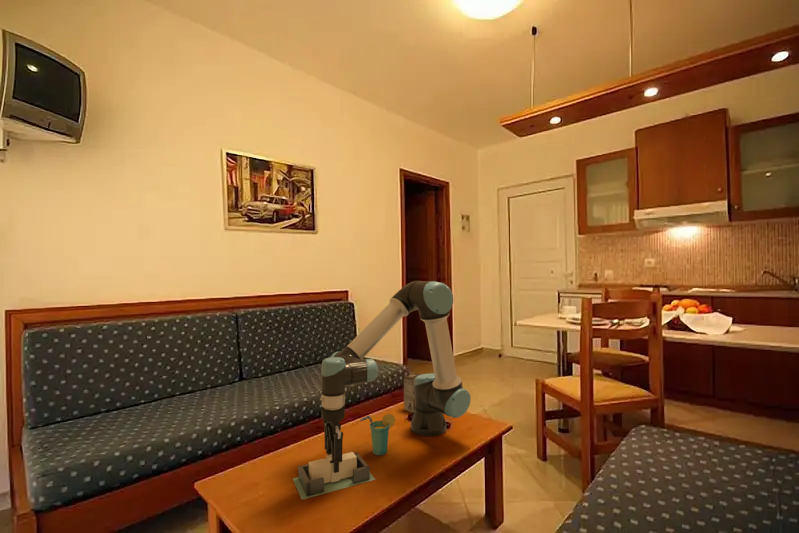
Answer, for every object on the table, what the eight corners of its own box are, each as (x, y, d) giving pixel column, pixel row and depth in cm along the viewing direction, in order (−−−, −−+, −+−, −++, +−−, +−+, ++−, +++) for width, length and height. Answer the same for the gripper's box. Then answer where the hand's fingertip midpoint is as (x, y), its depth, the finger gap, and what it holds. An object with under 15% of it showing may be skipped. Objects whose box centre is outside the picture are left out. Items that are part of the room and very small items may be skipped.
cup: (366, 463, 140) (365, 421, 140) (356, 454, 147) (355, 414, 147) (399, 452, 148) (398, 412, 148) (388, 444, 154) (388, 406, 154)
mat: (361, 462, 141) (361, 461, 141) (375, 480, 129) (375, 479, 129) (292, 479, 130) (292, 478, 130) (301, 501, 118) (301, 499, 118)
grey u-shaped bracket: (357, 463, 139) (357, 452, 139) (369, 479, 129) (369, 467, 129) (342, 467, 137) (342, 455, 137) (354, 483, 126) (354, 471, 126)
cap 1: (306, 496, 120) (306, 483, 120) (298, 478, 130) (298, 466, 130) (324, 492, 122) (324, 479, 122) (314, 474, 132) (314, 462, 132)
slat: (352, 469, 134) (352, 451, 134) (356, 474, 131) (356, 456, 131) (308, 480, 128) (308, 462, 128) (311, 486, 124) (311, 467, 124)
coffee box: (415, 404, 198) (415, 372, 197) (425, 407, 193) (425, 375, 193) (403, 409, 191) (403, 376, 191) (413, 413, 186) (413, 379, 186)
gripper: (315, 399, 135) (314, 468, 135) (329, 417, 120) (329, 494, 120) (336, 396, 138) (336, 463, 139) (353, 413, 123) (352, 487, 123)
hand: (333, 477), depth 129 cm, fingers closed on slat, 4 cm apart
